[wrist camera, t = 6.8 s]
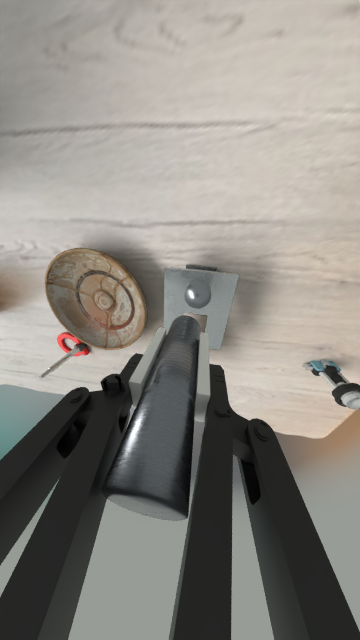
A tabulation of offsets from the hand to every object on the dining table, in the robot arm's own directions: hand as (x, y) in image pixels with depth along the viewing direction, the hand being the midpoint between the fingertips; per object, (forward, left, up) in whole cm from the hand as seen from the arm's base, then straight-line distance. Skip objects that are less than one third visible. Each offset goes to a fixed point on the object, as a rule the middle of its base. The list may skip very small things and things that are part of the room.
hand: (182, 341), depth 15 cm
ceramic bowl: (+5, -21, -20) cm, 29 cm away
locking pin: (0, 0, -2) cm, 2 cm away
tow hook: (+21, -35, -19) cm, 45 cm away
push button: (+15, +32, -19) cm, 40 cm away
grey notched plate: (+6, +1, -19) cm, 20 cm away
